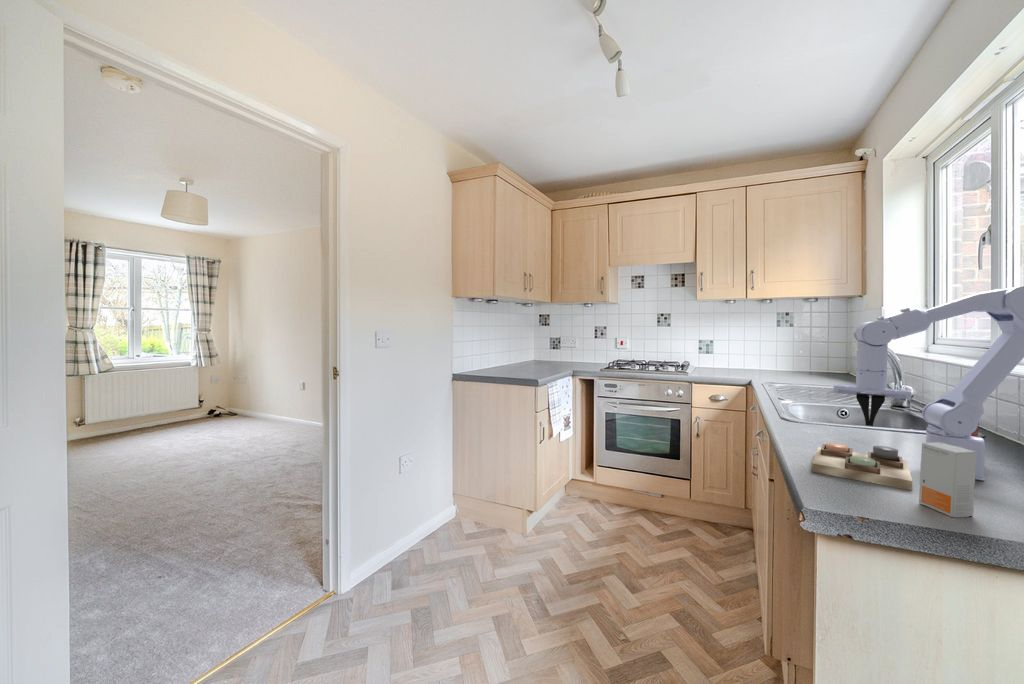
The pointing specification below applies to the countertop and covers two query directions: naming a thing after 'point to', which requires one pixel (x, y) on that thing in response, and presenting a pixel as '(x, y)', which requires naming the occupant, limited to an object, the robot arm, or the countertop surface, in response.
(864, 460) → the sage button
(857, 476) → the button panel
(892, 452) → the charcoal button
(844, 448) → the terracotta button
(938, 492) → the skincare box
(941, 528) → the countertop surface
